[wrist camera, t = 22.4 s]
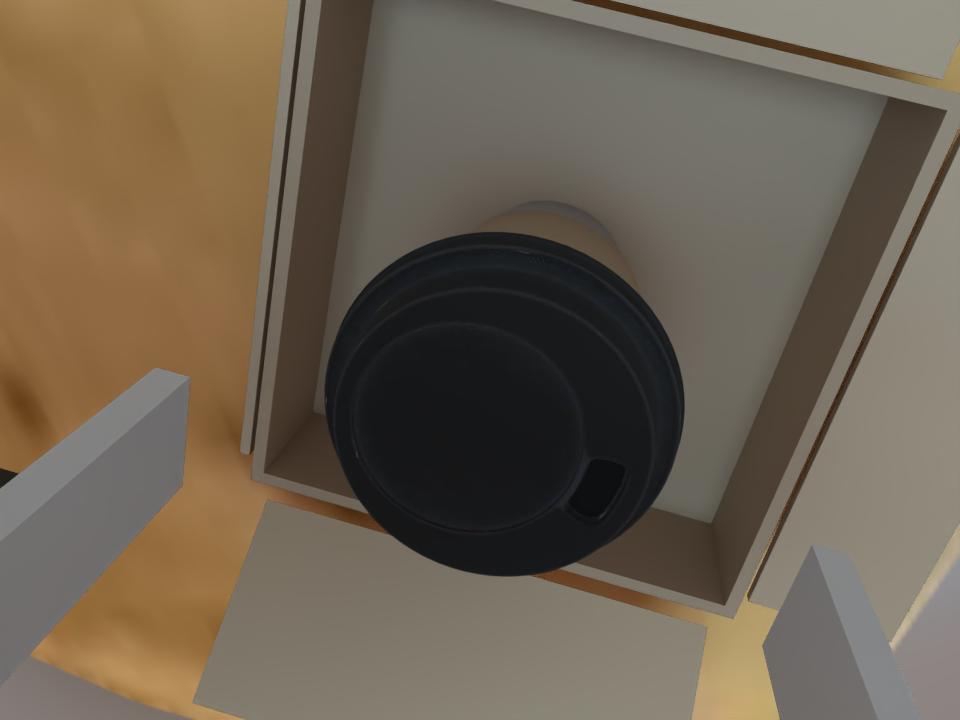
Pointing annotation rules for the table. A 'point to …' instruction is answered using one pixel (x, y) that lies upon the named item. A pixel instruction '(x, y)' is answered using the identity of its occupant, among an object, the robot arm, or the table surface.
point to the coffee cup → (506, 395)
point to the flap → (430, 638)
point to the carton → (657, 252)
